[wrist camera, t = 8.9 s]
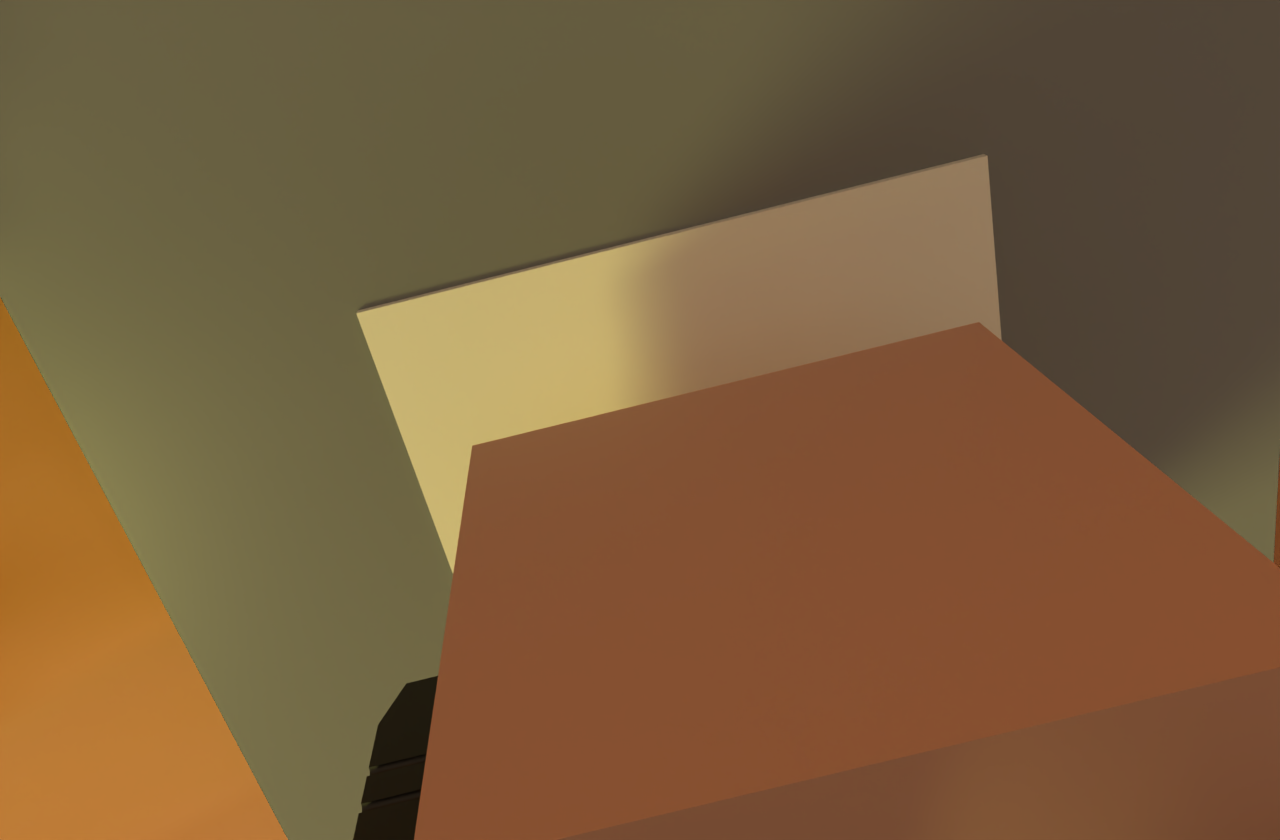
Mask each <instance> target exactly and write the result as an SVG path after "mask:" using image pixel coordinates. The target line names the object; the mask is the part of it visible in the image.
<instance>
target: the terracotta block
mask: <svg viewBox="0 0 1280 840" xmlns="http://www.w3.org/2000/svg"><path fill="white" fill-rule="evenodd" d="M414 840H1280V568H1279V567H1278V566H1277V565H1276V564H1274V563H1273V562H1272V561H1271V560H1269V559H1268V558H1267V557H1266V556H1265V555H1263V554H1262V553H1261V552H1260V551H1258V550H1257V549H1256V548H1255V547H1254V546H1252V545H1251V544H1250V543H1249V542H1247V541H1246V540H1245V539H1244V538H1243V537H1241V536H1240V535H1239V534H1238V533H1236V532H1235V531H1234V530H1233V529H1232V528H1230V527H1229V526H1228V525H1227V524H1225V523H1224V522H1223V521H1222V520H1221V519H1219V518H1218V517H1217V516H1216V515H1214V514H1213V513H1212V512H1211V511H1210V510H1208V509H1207V508H1206V507H1205V506H1203V505H1202V504H1201V503H1200V502H1199V501H1197V500H1196V499H1195V498H1194V497H1192V496H1191V495H1190V494H1189V493H1188V492H1186V491H1185V490H1184V489H1183V488H1181V487H1180V486H1179V485H1178V484H1177V483H1175V482H1174V481H1173V480H1172V479H1170V478H1169V477H1168V476H1167V475H1166V474H1164V473H1163V472H1162V471H1161V470H1159V469H1158V468H1157V467H1156V466H1155V465H1153V464H1152V463H1151V462H1150V461H1148V460H1147V459H1146V458H1145V457H1144V456H1142V455H1141V454H1140V453H1139V452H1137V451H1136V450H1135V449H1134V448H1133V447H1131V446H1130V445H1129V444H1128V443H1126V442H1125V441H1124V440H1123V439H1122V438H1120V437H1119V436H1118V435H1117V434H1115V433H1114V432H1113V431H1112V430H1111V429H1109V428H1108V427H1107V426H1106V425H1104V424H1103V423H1102V422H1101V421H1099V420H1098V419H1097V418H1096V417H1095V416H1093V415H1092V414H1091V413H1090V412H1088V411H1087V410H1086V409H1085V408H1084V407H1082V406H1081V405H1080V404H1079V403H1077V402H1076V401H1075V400H1074V399H1073V398H1071V397H1070V396H1069V395H1068V394H1066V393H1065V392H1064V391H1063V390H1062V389H1060V388H1059V387H1058V386H1057V385H1055V384H1054V383H1053V382H1052V381H1051V380H1049V379H1048V378H1047V377H1046V376H1044V375H1043V374H1042V373H1041V372H1040V371H1038V370H1037V369H1036V368H1035V367H1033V366H1032V365H1031V364H1030V363H1029V362H1027V361H1026V360H1025V359H1024V358H1022V357H1021V356H1020V355H1019V354H1018V353H1016V352H1015V351H1014V350H1013V349H1011V348H1010V347H1009V346H1008V345H1007V344H1005V343H1004V342H1003V341H1002V340H1000V339H999V338H998V337H997V336H996V335H994V334H993V333H992V332H991V331H989V330H988V329H987V328H986V327H985V326H983V325H982V324H981V323H980V322H977V323H973V324H969V325H964V326H960V327H956V328H952V329H948V330H944V331H940V332H936V333H932V334H928V335H924V336H919V337H915V338H911V339H907V340H903V341H899V342H895V343H891V344H887V345H883V346H878V347H874V348H870V349H866V350H862V351H858V352H854V353H850V354H846V355H842V356H837V357H833V358H829V359H825V360H821V361H817V362H813V363H809V364H805V365H801V366H797V367H792V368H788V369H784V370H780V371H776V372H772V373H768V374H764V375H760V376H756V377H751V378H747V379H743V380H739V381H735V382H731V383H727V384H723V385H719V386H715V387H711V388H706V389H702V390H698V391H694V392H690V393H686V394H682V395H678V396H674V397H670V398H665V399H661V400H657V401H653V402H649V403H645V404H641V405H637V406H633V407H629V408H624V409H620V410H616V411H612V412H608V413H604V414H600V415H596V416H592V417H588V418H584V419H579V420H575V421H571V422H567V423H563V424H559V425H555V426H551V427H547V428H543V429H538V430H534V431H530V432H526V433H522V434H518V435H514V436H510V437H506V438H502V439H498V440H493V441H489V442H485V443H481V444H477V445H473V446H472V450H471V457H470V464H469V471H468V477H467V484H466V491H465V498H464V504H463V511H462V518H461V525H460V531H459V538H458V545H457V552H456V558H455V565H454V572H453V579H452V585H451V592H450V599H449V606H448V612H447V619H446V626H445V633H444V639H443V646H442V653H441V660H440V667H439V673H438V680H437V687H436V694H435V700H434V707H433V714H432V721H431V727H430V734H429V741H428V748H427V754H426V761H425V768H424V775H423V781H422V788H421V795H420V802H419V808H418V815H417V822H416V829H415V835H414Z"/></svg>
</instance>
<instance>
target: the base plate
mask: <svg viewBox="0 0 1280 840" xmlns="http://www.w3.org/2000/svg"><path fill="white" fill-rule="evenodd" d="M0 297H1V299H2V301H3V303H4V305H5V307H6V309H7V310H8V312H9V314H10V316H11V318H12V320H13V322H14V324H15V326H16V327H17V329H18V331H19V333H20V335H21V337H22V339H23V341H24V342H25V344H26V346H27V348H28V350H29V352H30V354H31V356H32V358H33V359H34V361H35V363H36V365H37V367H38V369H39V371H40V373H41V375H42V376H43V378H44V380H45V382H46V384H47V386H48V388H49V390H50V392H51V393H52V395H53V397H54V399H55V401H56V403H57V405H58V407H59V408H60V410H61V412H62V414H63V416H64V418H65V420H66V422H67V424H68V425H69V427H70V429H71V431H72V433H73V435H74V437H75V439H76V441H77V442H78V444H79V446H80V448H81V450H82V452H83V454H84V456H85V458H86V459H87V461H88V463H89V465H90V467H91V469H92V471H93V473H94V474H95V476H96V478H97V480H98V482H99V484H100V486H101V488H102V490H103V491H104V493H105V495H106V497H107V499H108V501H109V503H110V505H111V507H112V508H113V510H114V512H115V514H116V516H117V518H118V520H119V522H120V524H121V525H122V527H123V529H124V531H125V533H126V535H127V537H128V539H129V541H130V542H131V544H132V546H133V548H134V550H135V552H136V554H137V556H138V557H139V559H140V561H141V563H142V565H143V567H144V569H145V571H146V573H147V574H148V576H149V578H150V580H151V582H152V584H153V586H154V588H155V590H156V591H157V593H158V595H159V597H160V599H161V601H162V603H163V605H164V607H165V608H166V610H167V612H168V614H169V616H170V618H171V620H172V622H173V623H174V625H175V627H176V629H177V631H178V633H179V635H180V637H181V639H182V640H183V642H184V644H185V646H186V648H187V650H188V652H189V654H190V656H191V657H192V659H193V661H194V663H195V665H196V667H197V669H198V671H199V673H200V674H201V676H202V678H203V680H204V682H205V684H206V686H207V688H208V689H209V691H210V693H211V695H212V697H213V699H214V701H215V703H216V705H217V706H218V708H219V710H220V712H221V714H222V716H223V718H224V720H225V722H226V723H227V725H228V727H229V729H230V731H231V733H232V735H233V737H234V739H235V740H236V742H237V744H238V746H239V748H240V750H241V752H242V754H243V755H244V757H245V759H246V761H247V763H248V765H249V767H250V769H251V771H252V772H253V774H254V776H255V778H256V780H257V782H258V784H259V786H260V788H261V789H262V791H263V793H264V795H265V797H266V799H267V801H268V803H269V805H270V806H271V808H272V810H273V812H274V814H275V816H276V818H277V820H278V821H279V823H280V825H281V827H282V829H283V831H284V833H285V835H286V837H287V838H288V840H353V837H354V833H355V828H356V824H357V819H358V814H359V813H362V806H361V801H362V796H363V791H364V787H365V782H366V778H367V776H370V770H369V764H370V759H371V755H372V750H373V745H374V741H375V736H376V732H377V727H378V724H379V722H380V721H381V720H382V718H383V717H384V715H385V714H386V712H387V711H388V709H389V708H390V706H391V705H392V704H393V702H394V701H395V699H396V698H397V696H398V695H399V693H400V692H401V690H402V689H403V687H404V686H405V685H406V683H410V682H414V681H418V680H422V679H426V678H431V677H435V676H438V673H439V667H440V660H441V653H442V646H443V639H444V633H445V626H446V619H447V612H448V606H449V599H450V592H451V585H452V579H453V572H454V565H455V558H456V552H457V545H458V538H459V531H460V525H461V518H462V511H463V504H464V498H465V491H466V484H467V477H468V471H469V464H470V457H471V450H472V446H473V445H477V444H481V443H485V442H489V441H493V440H498V439H502V438H506V437H510V436H514V435H518V434H522V433H526V432H530V431H534V430H538V429H543V428H547V427H551V426H555V425H559V424H563V423H567V422H571V421H575V420H579V419H584V418H588V417H592V416H596V415H600V414H604V413H608V412H612V411H616V410H620V409H624V408H629V407H633V406H637V405H641V404H645V403H649V402H653V401H657V400H661V399H665V398H670V397H674V396H678V395H682V394H686V393H690V392H694V391H698V390H702V389H706V388H711V387H715V386H719V385H723V384H727V383H731V382H735V381H739V380H743V379H747V378H751V377H756V376H760V375H764V374H768V373H772V372H776V371H780V370H784V369H788V368H792V367H797V366H801V365H805V364H809V363H813V362H817V361H821V360H825V359H829V358H833V357H837V356H842V355H846V354H850V353H854V352H858V351H862V350H866V349H870V348H874V347H878V346H883V345H887V344H891V343H895V342H899V341H903V340H907V339H911V338H915V337H919V336H924V335H928V334H932V333H936V332H940V331H944V330H948V329H952V328H956V327H960V326H964V325H969V324H973V323H977V322H980V323H981V324H982V325H983V326H985V327H986V328H987V329H988V330H989V331H991V332H992V333H993V334H994V335H996V336H997V337H998V338H999V339H1000V340H1002V341H1003V342H1004V343H1005V344H1007V345H1008V346H1009V347H1010V348H1011V349H1013V350H1014V351H1015V352H1016V353H1018V354H1019V355H1020V356H1021V357H1022V358H1024V359H1025V360H1026V361H1027V362H1029V363H1030V364H1031V365H1032V366H1033V367H1035V368H1036V369H1037V370H1038V371H1040V372H1041V373H1042V374H1043V375H1044V376H1046V377H1047V378H1048V379H1049V380H1051V381H1052V382H1053V383H1054V384H1055V385H1057V386H1058V387H1059V388H1060V389H1062V390H1063V391H1064V392H1065V393H1066V394H1068V395H1069V396H1070V397H1071V398H1073V399H1074V400H1075V401H1076V402H1077V403H1079V404H1080V405H1081V406H1082V407H1084V408H1085V409H1086V410H1087V411H1088V412H1090V413H1091V414H1092V415H1093V416H1095V417H1096V418H1097V419H1098V420H1099V421H1101V422H1102V423H1103V424H1104V425H1106V426H1107V427H1108V428H1109V429H1111V430H1112V431H1113V432H1114V433H1115V434H1117V435H1118V436H1119V437H1120V438H1122V439H1123V440H1124V441H1125V442H1126V443H1128V444H1129V445H1130V446H1131V447H1133V448H1134V449H1135V450H1136V451H1137V452H1139V453H1140V454H1141V455H1142V456H1144V457H1145V458H1146V459H1147V460H1148V461H1150V462H1151V463H1152V464H1153V465H1155V466H1156V467H1157V468H1158V469H1159V470H1161V471H1162V472H1163V473H1164V474H1166V475H1167V476H1168V477H1169V478H1170V479H1172V480H1173V481H1174V482H1175V483H1177V484H1178V485H1179V486H1180V487H1181V488H1183V489H1184V490H1185V491H1186V492H1188V493H1189V494H1190V495H1191V496H1192V497H1194V498H1195V499H1196V500H1197V501H1199V502H1200V503H1201V504H1202V505H1203V506H1205V507H1206V508H1207V509H1208V510H1210V511H1211V512H1212V513H1213V514H1214V515H1216V516H1217V517H1218V518H1219V519H1221V520H1222V521H1223V522H1224V523H1225V524H1227V525H1228V526H1229V527H1230V528H1232V529H1233V530H1234V531H1235V532H1236V533H1238V534H1239V535H1240V536H1241V537H1243V538H1244V539H1245V540H1246V541H1247V542H1249V543H1250V544H1251V545H1252V546H1254V547H1255V548H1256V549H1257V550H1258V551H1260V552H1261V553H1262V554H1263V555H1265V556H1266V557H1267V558H1268V559H1269V560H1271V561H1272V562H1273V563H1274V547H1275V529H1276V511H1277V492H1278V474H1279V456H1280V0H0Z"/></svg>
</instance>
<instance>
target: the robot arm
mask: <svg viewBox="0 0 1280 840" xmlns="http://www.w3.org/2000/svg"><path fill="white" fill-rule="evenodd" d="M437 680H438V676H435V677H431V678H426V679H422V680H418V681H414V682H410V683H406V685H405V686H404V687H403V689H402V690H401V692H400V693H399V695H398V696H397V698H396V699H395V701H394V702H393V704H392V705H391V706H390V708H389V709H388V711H387V712H386V714H385V715H384V717H383V718H382V720H381V721H380V722H379V724H378V727H377V732H376V736H375V741H374V745H373V750H372V755H371V759H370V764H369V770H370V776H367V778H366V782H365V787H364V791H363V796H362V801H361V806H362V813H359V814H358V819H357V824H356V828H355V833H354V837H353V840H414V835H415V829H416V822H417V815H418V808H419V802H420V795H421V788H422V781H423V775H424V768H425V761H426V754H427V748H428V741H429V734H430V727H431V721H432V714H433V707H434V700H435V694H436V687H437Z"/></svg>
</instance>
